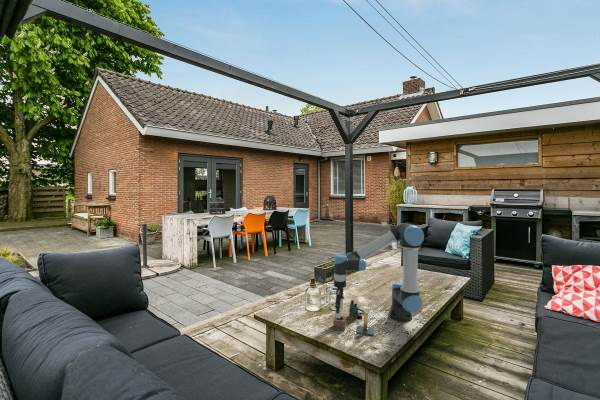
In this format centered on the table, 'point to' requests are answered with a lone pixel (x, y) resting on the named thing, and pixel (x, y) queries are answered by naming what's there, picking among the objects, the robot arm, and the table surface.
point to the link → (339, 323)
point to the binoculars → (355, 311)
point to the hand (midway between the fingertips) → (339, 313)
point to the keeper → (365, 327)
